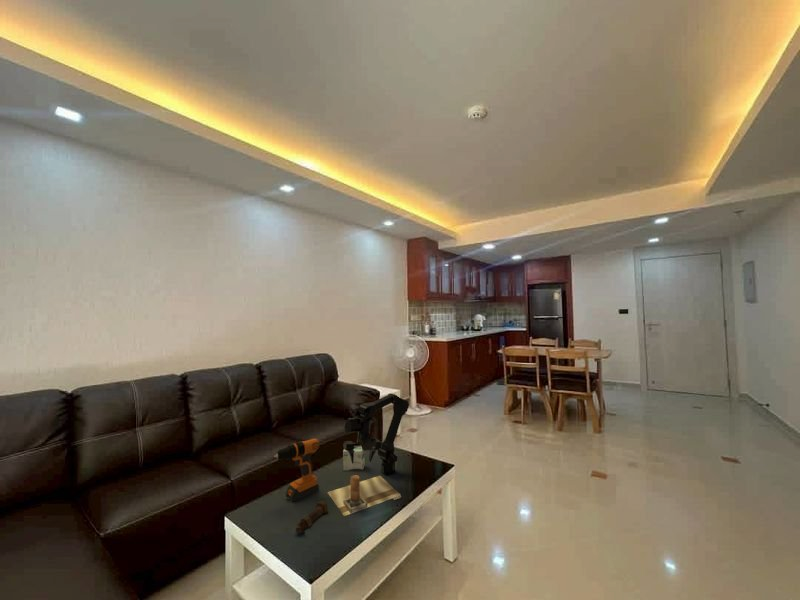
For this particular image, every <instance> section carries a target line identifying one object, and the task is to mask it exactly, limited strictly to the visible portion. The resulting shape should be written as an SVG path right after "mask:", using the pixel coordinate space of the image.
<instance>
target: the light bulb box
mask: <svg viewBox="0 0 800 600" xmlns="http://www.w3.org/2000/svg"><path fill="white" fill-rule="evenodd" d="M353 450H354V461H353V464H352V462H351V458H350V454H349V452H348V451H346V450H345V449H344V448H343V450H342V456H343V457H342V458H343V459H342V461H343V463H342V464H343V466H342V467H343V471H351V470H364V468H365V465H366V464H365V451H364V450H362V447H354V449H353Z"/></svg>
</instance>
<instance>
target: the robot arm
mask: <svg viewBox="0 0 800 600" xmlns="http://www.w3.org/2000/svg"><path fill="white" fill-rule="evenodd" d="M390 404H393V406H392V410H393V415H392V417H391V420H390V423H389V427H388V430H387V431H386V432H387V433H386V436H385V439H384V440H383V441H380V439H378V438H371V433H370V431H371V430H370V429H371V422H373V421H375V419H374V417H373V416H374V415H375V414H376V413H377V412H378V411H379V410H380V409H382V408H384V407H386V406H388V405H390ZM409 407H410V402H409V401H408V400H407V399H404V398H401V397H399V396H398V395H397V394H396V393H395V394H394V393H388V394H387V395H385V396H382V397H380V398H379V399H377V400H374V401H372V402H370V401H369V402H363V403H361V404H360V405H359V406H358V408H357V410H356V411H355V413H354V415H353V416H352V418H351V417H348V418H347V420H346V421H345V424H344V431H345V433H346V434H351V433H357V439H356V442H353V441H352V440H346V441H344V442H343V444H342V445H343V446H342V447H343V450H344V449H345V450H346V451H348V452H349V454H350V458H351V462H352V464H353V461H354V450H353V449H354V447H362V450H364V452H366V451H369V454H368V456H369V458H368V460H369V461H368V462H370V463H372V460H373V458H374V455H375V454H376V451H377V455H378V457H379V459H380V460H381V467H380V468H381V469H380V472H382V473H383V474H384V475H385V476H389V475H392V474H395V473H397V472H398V471H397V470H396V462H397V461H398V456H397V455H396V454H395V441H396V437H397V434H398V430H399V427H400V425H401V421H402V419H403V416H404V415H405V414H406V413H407V411H408V410H409Z"/></svg>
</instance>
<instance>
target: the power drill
mask: <svg viewBox="0 0 800 600" xmlns="http://www.w3.org/2000/svg"><path fill="white" fill-rule="evenodd" d="M319 447H320V441H319V439H317V438H310V439H308V440H307V439H306V440H304V441H299V442H295V443H292V444H290V445H287V446H285V447H283V448H281V449H278V450H277V452H276V454H275V455H274V456H273V457H274V458H276V459H277V460H279V461H283V460H284V461H285V460H288V459H290V460H292V461H294V462H295V463H294V466H297V467H300V469H299V470H300V473H301V478H298V479H296V480H294V481H292V482H290V483H289V485H288V486H287V489H286V492H285V497H286V498H287V499H288V500H290V501H291V502H296V501H298V500H300V499H303V498H305V497H307V496H310V495H312V494H314V493H315V492H316V493H317V492H319V490H320V486H319V484H318V478H317V476H316V475H314V474H313V463H312V460H311V456H312V455H313V454H316V452H317V450H319Z"/></svg>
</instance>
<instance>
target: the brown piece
mask: <svg viewBox="0 0 800 600" xmlns="http://www.w3.org/2000/svg"><path fill="white" fill-rule="evenodd" d="M360 482H361V481H360V475H356V474H353V475H351V476H350V482H349V483H350V484H349V485H350V486H351V499H350V506H351V507H355V506H358V505H360Z"/></svg>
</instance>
